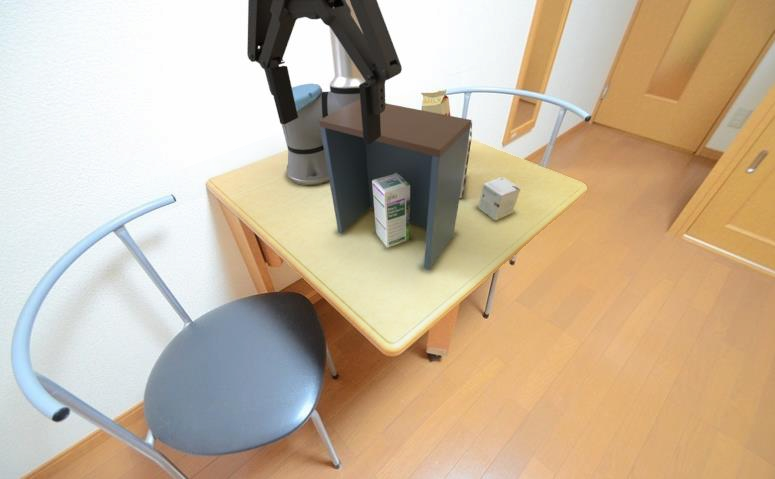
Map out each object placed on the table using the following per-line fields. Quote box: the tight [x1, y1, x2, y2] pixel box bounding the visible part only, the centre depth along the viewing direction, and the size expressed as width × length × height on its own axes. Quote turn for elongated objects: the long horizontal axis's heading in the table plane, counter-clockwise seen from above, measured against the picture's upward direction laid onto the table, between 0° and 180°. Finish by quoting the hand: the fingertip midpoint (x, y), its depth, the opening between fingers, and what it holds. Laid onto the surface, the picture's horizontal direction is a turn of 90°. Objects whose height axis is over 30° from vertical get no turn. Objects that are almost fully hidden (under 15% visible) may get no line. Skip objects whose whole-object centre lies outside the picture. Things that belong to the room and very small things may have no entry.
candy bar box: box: [459, 119, 473, 199], centre depth 81 cm, size 11×5×16 cm, turn 168°
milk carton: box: [420, 89, 452, 116], centre depth 93 cm, size 9×9×20 cm
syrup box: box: [372, 173, 411, 248], centre depth 67 cm, size 6×6×14 cm
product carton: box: [478, 176, 522, 221], centre depth 75 cm, size 6×6×7 cm
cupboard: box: [319, 99, 472, 271], centre depth 64 cm, size 23×13×26 cm, turn 58°
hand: (328, 129), depth 41 cm, fingers open, 13 cm apart
